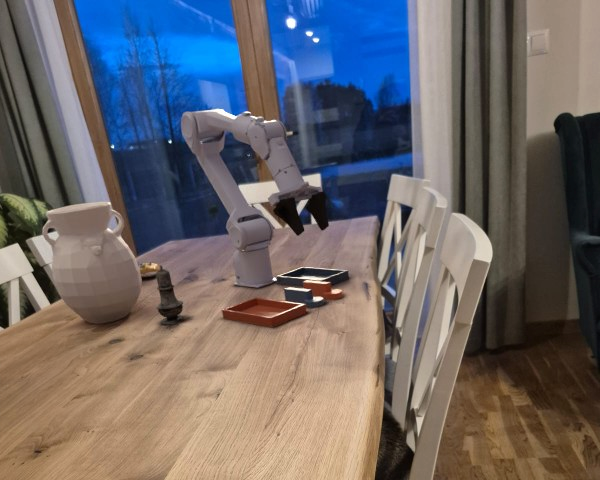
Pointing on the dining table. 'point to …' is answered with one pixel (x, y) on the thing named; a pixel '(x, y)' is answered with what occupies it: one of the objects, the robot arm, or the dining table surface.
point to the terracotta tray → (264, 311)
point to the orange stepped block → (322, 289)
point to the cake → (148, 268)
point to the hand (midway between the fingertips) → (313, 230)
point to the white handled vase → (93, 262)
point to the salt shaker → (168, 299)
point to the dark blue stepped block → (302, 297)
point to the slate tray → (312, 276)
